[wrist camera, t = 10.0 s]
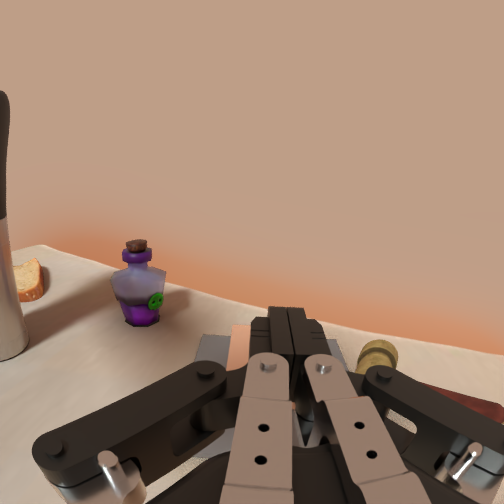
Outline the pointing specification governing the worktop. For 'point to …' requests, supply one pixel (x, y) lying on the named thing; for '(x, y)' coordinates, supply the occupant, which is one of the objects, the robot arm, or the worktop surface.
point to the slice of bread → (29, 281)
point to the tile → (240, 348)
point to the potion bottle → (139, 285)
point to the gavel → (388, 356)
